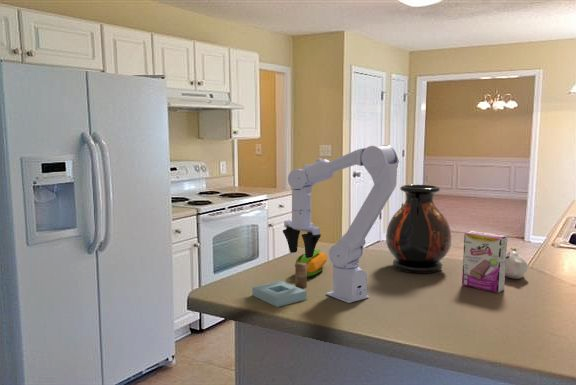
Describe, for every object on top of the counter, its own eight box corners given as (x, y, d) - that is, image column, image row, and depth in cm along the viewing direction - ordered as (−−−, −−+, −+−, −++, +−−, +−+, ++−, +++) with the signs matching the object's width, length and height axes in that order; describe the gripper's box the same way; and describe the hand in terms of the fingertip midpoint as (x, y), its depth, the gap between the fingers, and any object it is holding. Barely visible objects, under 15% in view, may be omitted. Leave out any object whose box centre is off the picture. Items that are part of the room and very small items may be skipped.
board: (306, 299, 140) (306, 290, 140) (277, 307, 134) (277, 297, 134) (280, 288, 150) (280, 280, 150) (252, 295, 144) (252, 286, 144)
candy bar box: (461, 285, 153) (463, 232, 151) (468, 282, 157) (470, 230, 155) (498, 293, 146) (501, 237, 144) (505, 290, 149) (508, 235, 147)
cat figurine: (507, 242, 170) (515, 247, 155) (529, 256, 168) (539, 262, 153) (490, 265, 171) (496, 272, 156) (512, 279, 169) (520, 287, 155)
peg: (309, 287, 151) (309, 264, 151) (300, 289, 149) (300, 266, 149) (301, 284, 154) (302, 262, 153) (293, 286, 152) (293, 263, 151)
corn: (290, 255, 159) (315, 242, 177) (288, 278, 161) (313, 263, 178) (311, 259, 156) (335, 246, 174) (309, 282, 157) (333, 267, 175)
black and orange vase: (394, 257, 187) (396, 182, 184) (454, 264, 178) (458, 185, 175) (377, 271, 168) (379, 188, 165) (444, 280, 159) (448, 191, 155)
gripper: (327, 211, 146) (327, 257, 147) (297, 205, 157) (296, 248, 159) (308, 213, 141) (308, 261, 143) (278, 207, 153) (278, 251, 155)
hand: (301, 254), depth 151 cm, fingers open, 7 cm apart
